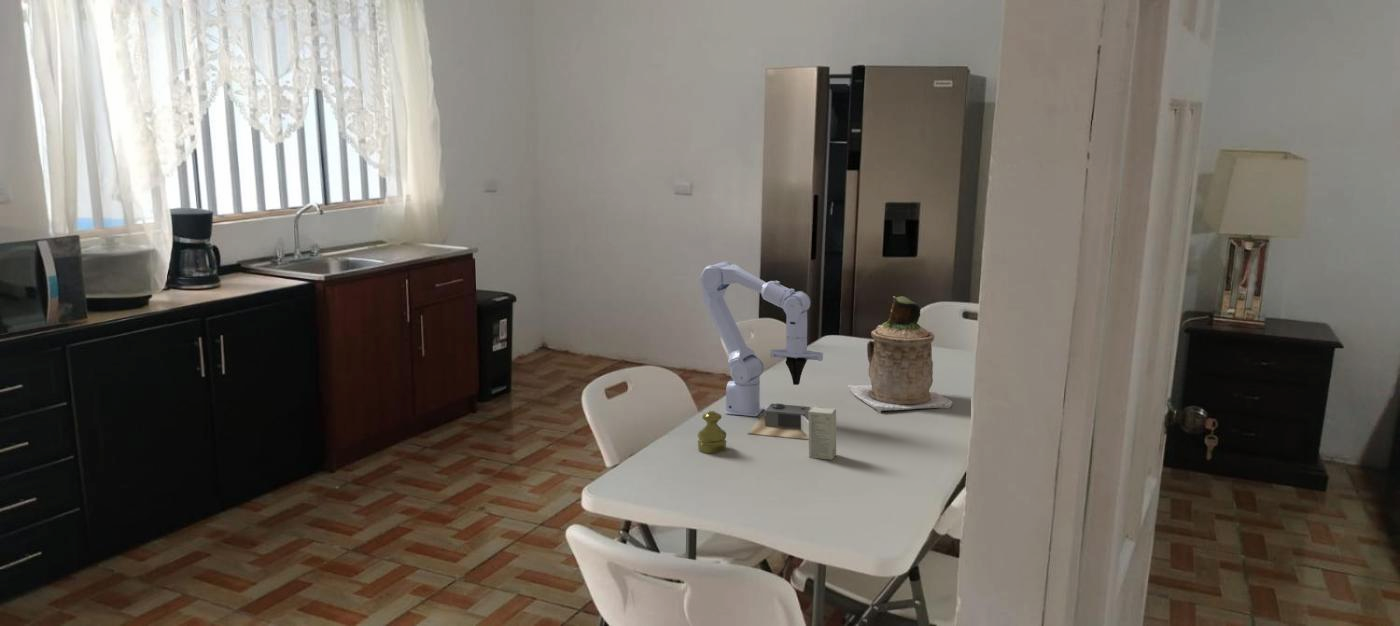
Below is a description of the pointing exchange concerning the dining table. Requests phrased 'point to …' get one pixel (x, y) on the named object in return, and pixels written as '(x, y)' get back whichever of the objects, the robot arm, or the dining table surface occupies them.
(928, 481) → the dining table surface
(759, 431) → the wooden board
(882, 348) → the cookie jar
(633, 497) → the dining table surface
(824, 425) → the skincare box
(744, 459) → the dining table surface
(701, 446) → the salt shaker
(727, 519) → the dining table surface
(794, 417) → the camera body
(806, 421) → the side door
